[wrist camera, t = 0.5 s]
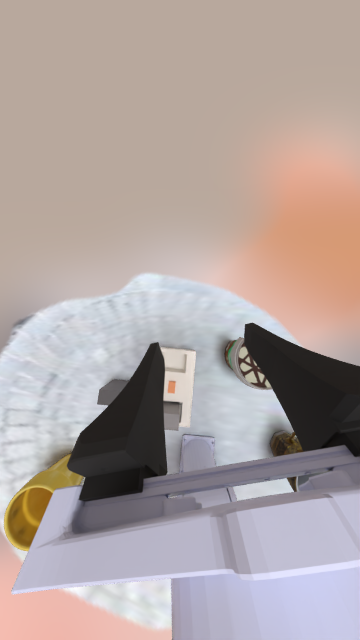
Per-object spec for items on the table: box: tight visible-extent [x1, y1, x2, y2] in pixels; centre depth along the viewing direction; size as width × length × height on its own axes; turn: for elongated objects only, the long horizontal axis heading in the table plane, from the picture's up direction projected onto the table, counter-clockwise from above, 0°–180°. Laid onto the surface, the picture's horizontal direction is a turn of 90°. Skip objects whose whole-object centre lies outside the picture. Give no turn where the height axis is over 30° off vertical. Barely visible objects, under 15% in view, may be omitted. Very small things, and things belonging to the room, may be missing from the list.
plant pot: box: [4, 454, 83, 551], centre depth 30 cm, size 10×10×10 cm
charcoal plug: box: [163, 401, 180, 431], centre depth 32 cm, size 3×4×7 cm
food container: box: [225, 337, 272, 390], centre depth 33 cm, size 12×6×10 cm, turn 40°
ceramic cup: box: [270, 431, 329, 492], centre depth 32 cm, size 13×10×10 cm
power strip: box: [160, 347, 196, 427], centre depth 35 cm, size 17×10×5 cm, turn 174°
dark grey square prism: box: [97, 379, 129, 405], centre depth 34 cm, size 3×4×7 cm
